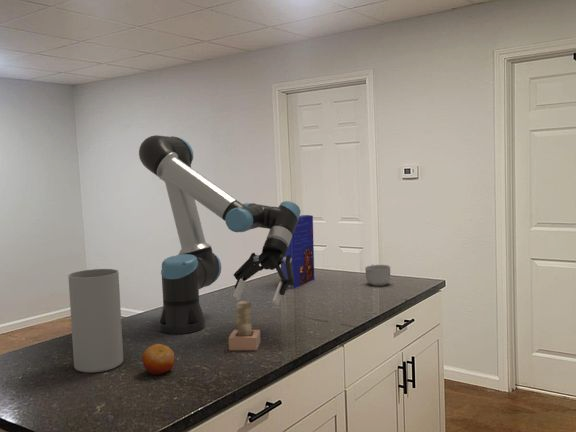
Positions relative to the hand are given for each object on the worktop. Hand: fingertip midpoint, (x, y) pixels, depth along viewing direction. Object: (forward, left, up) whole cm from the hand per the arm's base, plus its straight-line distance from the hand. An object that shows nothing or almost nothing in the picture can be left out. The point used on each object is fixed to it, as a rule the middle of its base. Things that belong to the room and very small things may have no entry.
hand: (254, 301), depth 162 cm
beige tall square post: (-3, -4, -11) cm, 12 cm away
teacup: (+42, +81, -12) cm, 92 cm away
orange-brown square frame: (-3, -4, -12) cm, 13 cm away
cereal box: (+7, +84, -12) cm, 85 cm away
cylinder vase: (-40, -20, -12) cm, 46 cm away
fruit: (-22, -25, -12) cm, 36 cm away
